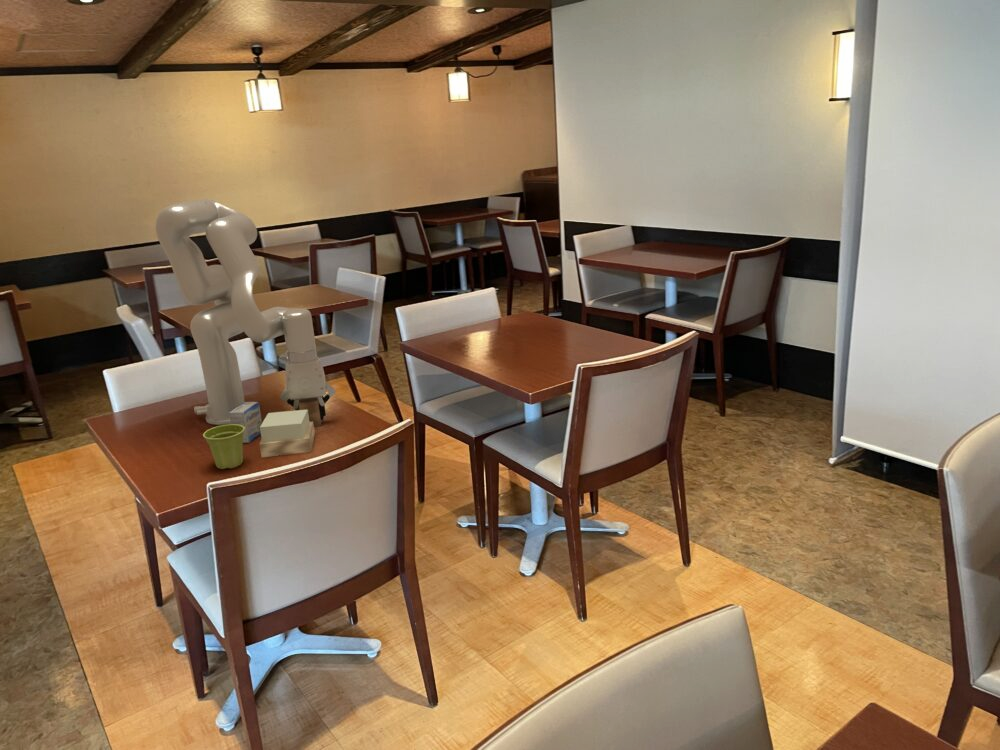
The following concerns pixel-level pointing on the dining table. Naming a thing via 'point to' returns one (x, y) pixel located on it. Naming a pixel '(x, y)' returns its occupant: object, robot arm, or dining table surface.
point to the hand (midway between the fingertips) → (311, 419)
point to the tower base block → (289, 445)
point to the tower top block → (285, 425)
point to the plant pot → (226, 445)
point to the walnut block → (311, 410)
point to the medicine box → (247, 419)
